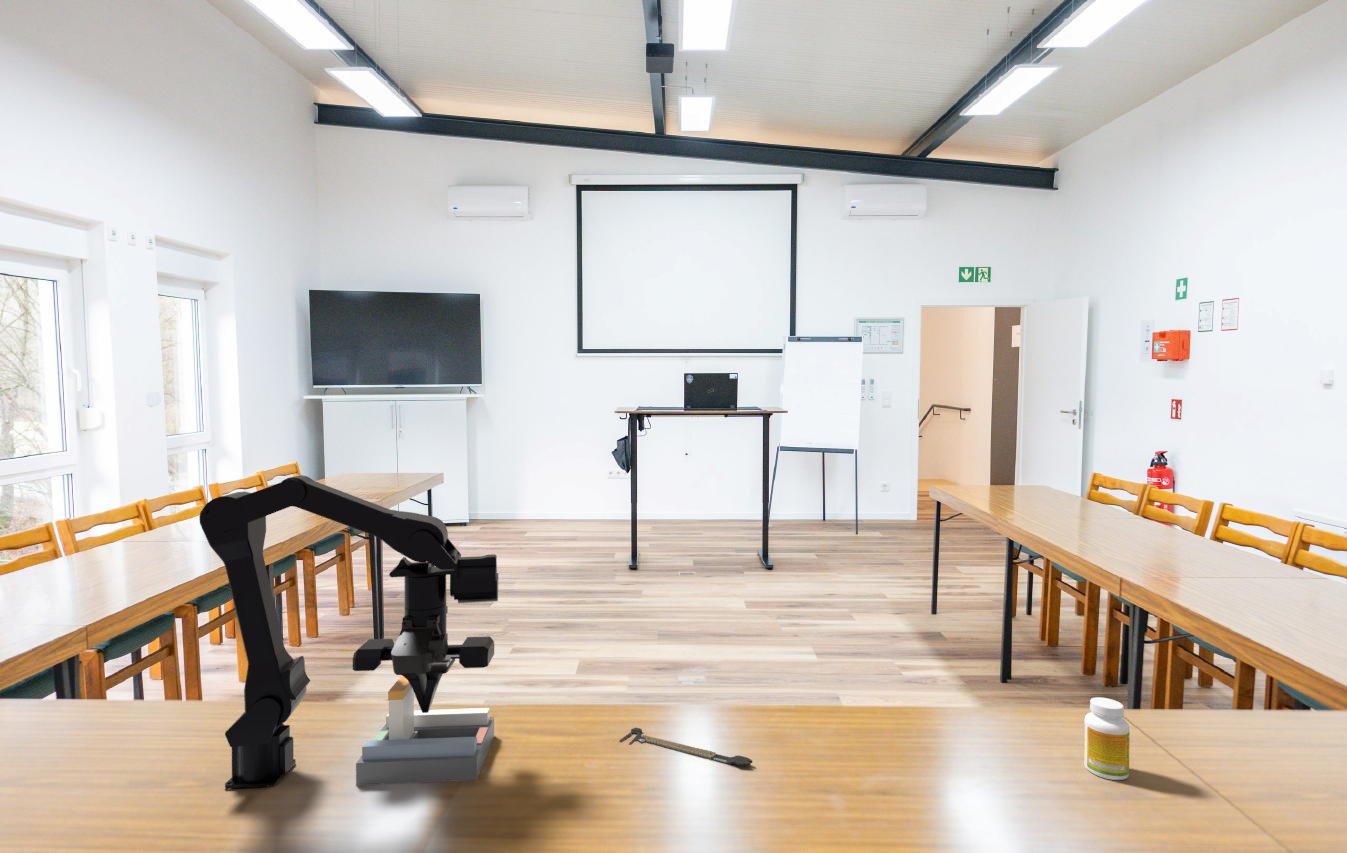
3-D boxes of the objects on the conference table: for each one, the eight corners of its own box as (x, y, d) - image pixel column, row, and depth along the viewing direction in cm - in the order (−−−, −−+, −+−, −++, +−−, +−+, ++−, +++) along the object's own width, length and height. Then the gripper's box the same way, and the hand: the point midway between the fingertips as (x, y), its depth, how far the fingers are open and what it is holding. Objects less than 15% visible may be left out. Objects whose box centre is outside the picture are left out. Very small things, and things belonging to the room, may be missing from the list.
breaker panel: (356, 784, 92) (355, 749, 92) (388, 739, 105) (388, 708, 105) (476, 780, 93) (476, 745, 93) (494, 735, 106) (494, 705, 106)
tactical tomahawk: (609, 753, 103) (609, 746, 103) (634, 732, 108) (633, 725, 108) (734, 790, 92) (734, 782, 92) (754, 764, 98) (754, 757, 98)
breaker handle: (384, 757, 96) (384, 691, 96) (397, 738, 101) (397, 676, 101) (406, 756, 96) (406, 690, 96) (417, 738, 101) (417, 676, 101)
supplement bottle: (1136, 783, 93) (1137, 712, 92) (1092, 778, 94) (1093, 708, 94) (1118, 763, 98) (1119, 696, 98) (1077, 759, 99) (1078, 693, 99)
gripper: (336, 623, 90) (336, 740, 90) (479, 619, 91) (480, 735, 92) (367, 600, 101) (367, 704, 101) (494, 597, 102) (495, 700, 103)
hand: (425, 711), depth 99 cm, fingers closed
